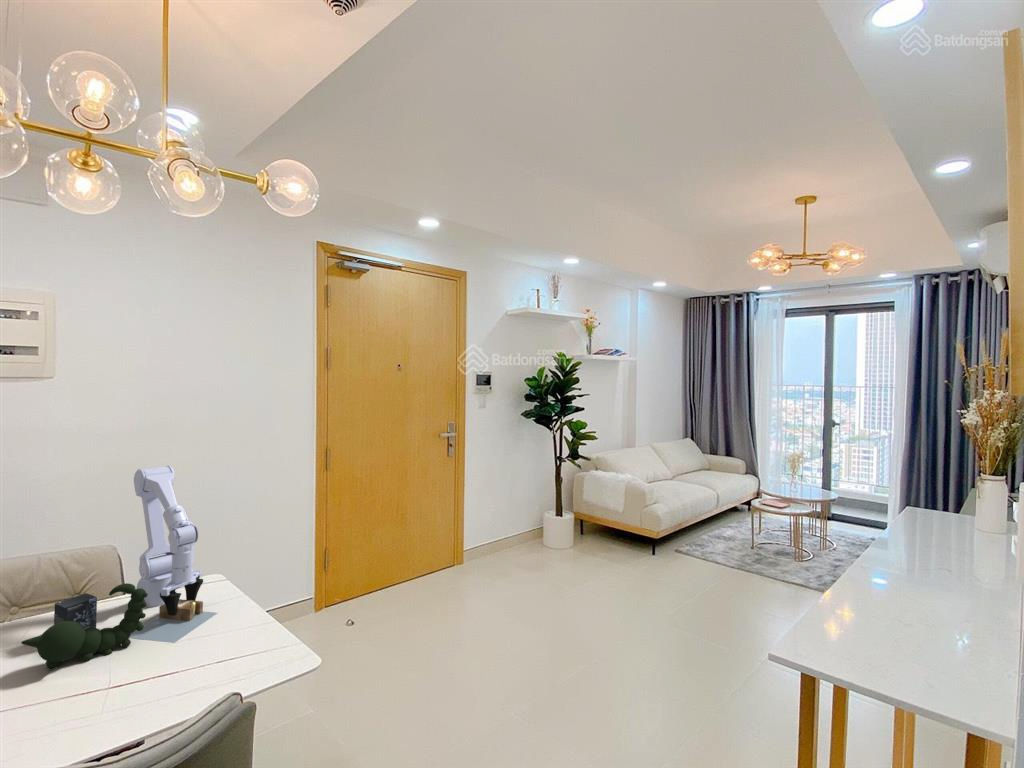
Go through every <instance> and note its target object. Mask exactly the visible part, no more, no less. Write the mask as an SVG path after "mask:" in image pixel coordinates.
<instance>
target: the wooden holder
mask: <svg viewBox="0 0 1024 768" xmlns="http://www.w3.org/2000/svg"><path fill="white" fill-rule="evenodd" d="M190 602H196V605H195V614H201V613H203V611H204V610H203V608H204V602H203V601H201V600H195V601H192V600H186V599H180V598H179V601H178V608H177V614H176V615H175V616H172V615H168V611H167V608H166V605H165V604H163V605H161V606H159V613H158V616H159V618H164V619H174V620H185V621H191V620H192V619H193V608H192V607H189V603H190Z"/></svg>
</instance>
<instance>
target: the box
mask: <svg viewBox="0 0 1024 768" xmlns="http://www.w3.org/2000/svg"><path fill="white" fill-rule="evenodd" d="M97 603H98V597H97V596H95V595H92V594H90V593H88V592H85V593H82V594H79V595H77V596H73V597H71V598H67V599H64V600H61V601H58V602H57V601H56V602H55V603H54V612H53V613H54V615H53V617H54V618H53V625H55V624H57V623H60V622H63V621H74V622H77V623H79V624H81V625H82V626H83V627H84V628H85V629H87V628H97V614H98V613H97V609H98V608H97V607H98V605H97Z"/></svg>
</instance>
